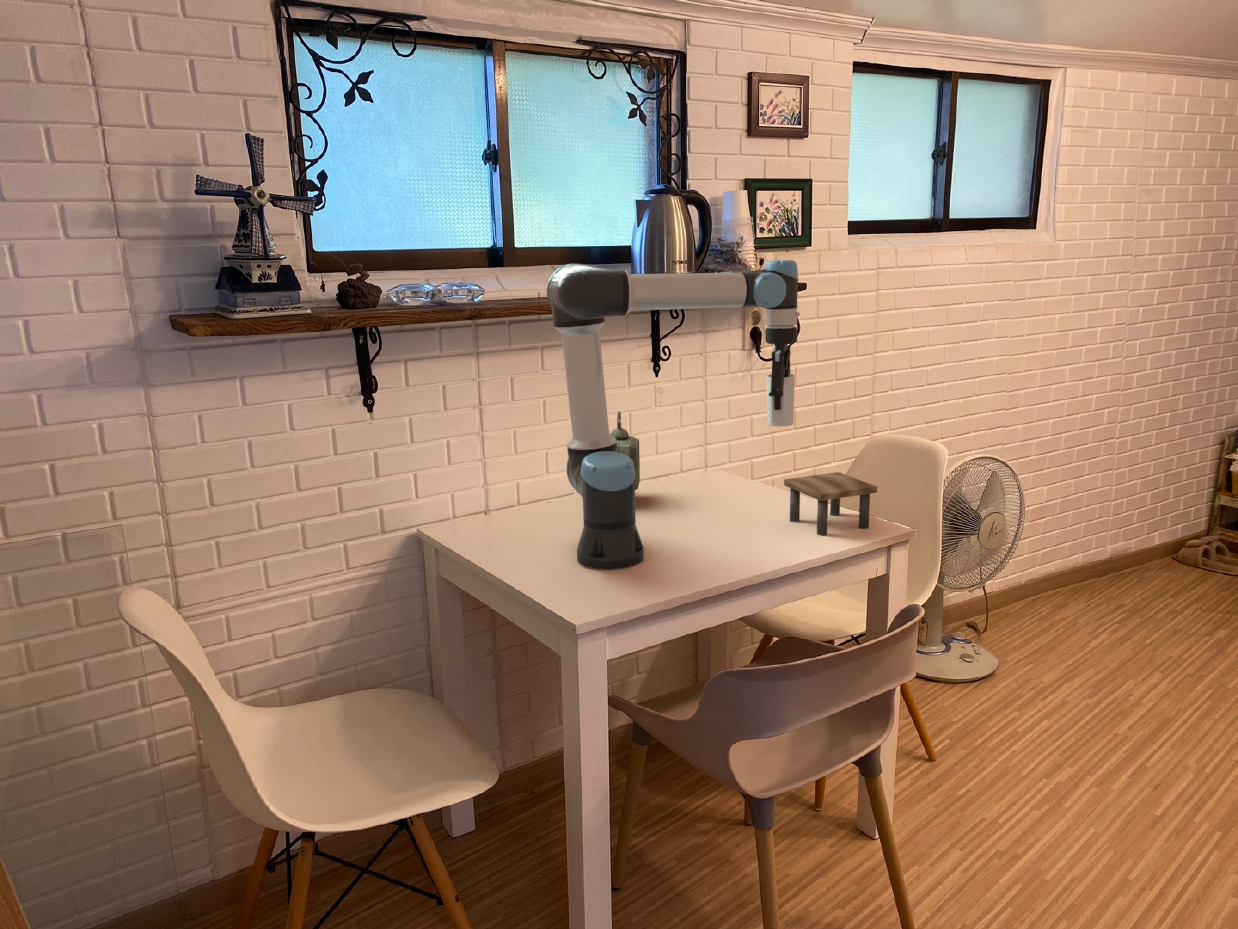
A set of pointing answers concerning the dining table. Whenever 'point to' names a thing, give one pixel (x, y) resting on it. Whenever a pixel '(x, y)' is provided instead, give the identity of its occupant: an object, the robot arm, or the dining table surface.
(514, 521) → the dining table surface
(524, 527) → the dining table surface
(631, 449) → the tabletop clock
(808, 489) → the small wooden stand
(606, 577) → the dining table surface
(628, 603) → the dining table surface
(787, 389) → the mug
